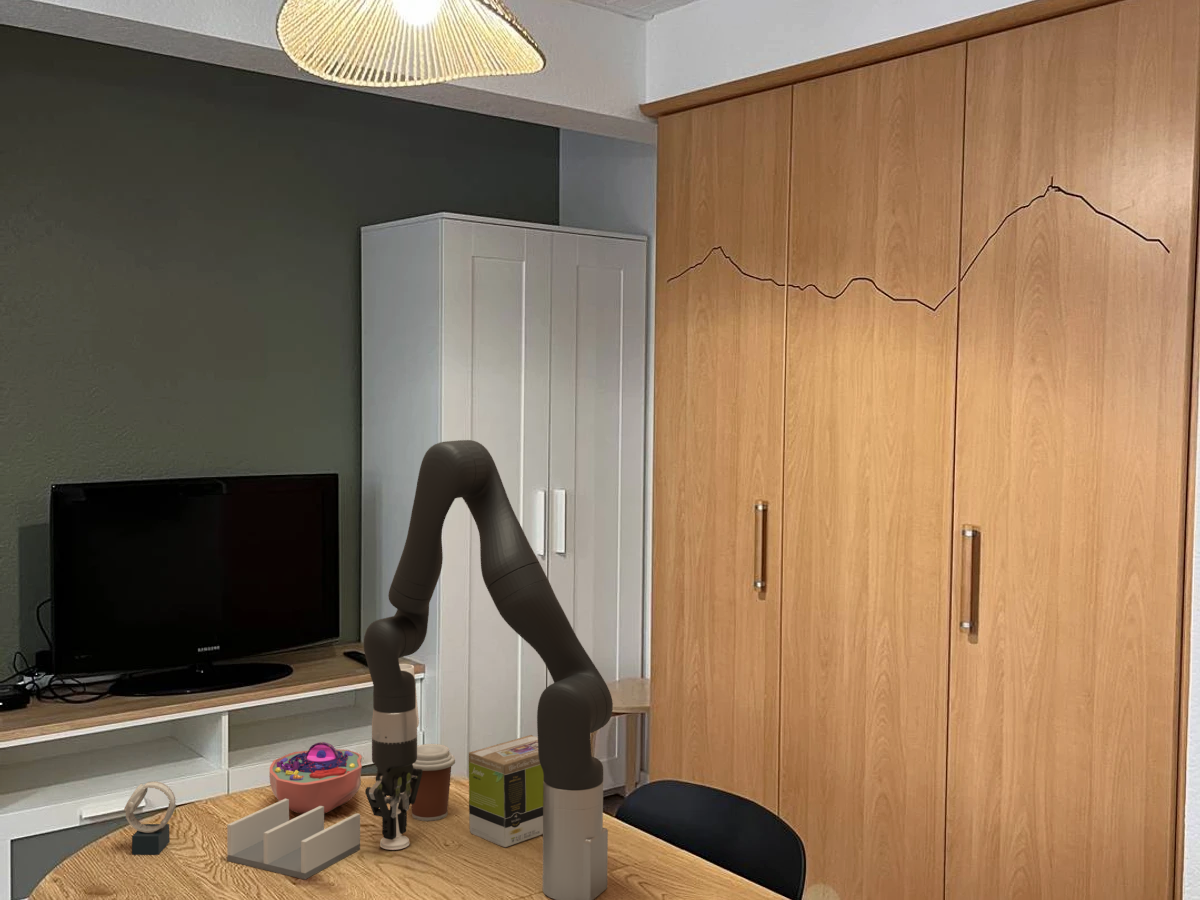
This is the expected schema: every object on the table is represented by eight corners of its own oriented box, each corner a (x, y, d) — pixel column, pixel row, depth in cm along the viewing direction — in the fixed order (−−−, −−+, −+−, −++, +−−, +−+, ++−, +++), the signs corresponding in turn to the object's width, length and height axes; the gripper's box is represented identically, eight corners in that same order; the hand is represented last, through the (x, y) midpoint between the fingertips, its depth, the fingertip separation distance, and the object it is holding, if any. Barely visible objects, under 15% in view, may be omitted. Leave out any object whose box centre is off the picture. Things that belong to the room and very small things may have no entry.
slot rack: (360, 849, 204) (360, 814, 204) (305, 879, 191) (304, 842, 191) (285, 832, 211) (285, 798, 211) (227, 860, 199) (227, 824, 198)
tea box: (531, 812, 222) (532, 732, 222) (569, 827, 215) (570, 744, 214) (466, 833, 212) (467, 749, 211) (504, 849, 205) (505, 763, 204)
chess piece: (403, 851, 203) (403, 792, 202) (375, 848, 204) (375, 789, 203) (413, 840, 208) (413, 782, 207) (386, 837, 209) (386, 780, 208)
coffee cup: (398, 809, 223) (399, 744, 222) (447, 803, 227) (447, 739, 226) (411, 826, 215) (411, 759, 214) (461, 819, 218) (461, 753, 217)
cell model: (248, 824, 215) (248, 761, 214) (296, 787, 234) (296, 729, 234) (339, 831, 212) (339, 767, 211) (380, 793, 231) (380, 735, 231)
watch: (132, 842, 206) (131, 778, 205) (180, 842, 206) (179, 778, 206) (120, 855, 200) (119, 789, 200) (169, 855, 201) (168, 789, 200)
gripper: (388, 748, 197) (388, 853, 198) (436, 726, 209) (436, 825, 210) (350, 742, 200) (351, 845, 201) (400, 721, 213) (400, 818, 214)
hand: (394, 834), depth 206 cm, fingers closed on chess piece, 2 cm apart
